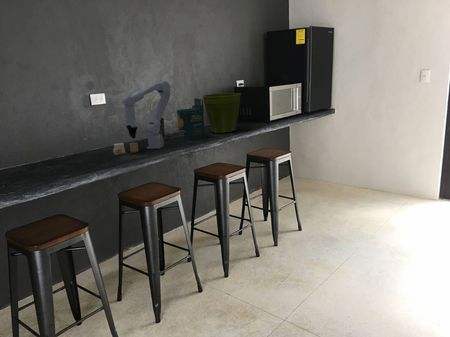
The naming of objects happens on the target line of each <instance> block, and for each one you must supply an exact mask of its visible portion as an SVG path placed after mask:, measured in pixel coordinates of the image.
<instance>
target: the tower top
mask: <svg viewBox="0 0 450 337" xmlns="http://www.w3.org/2000/svg"><path fill="white" fill-rule="evenodd" d="M113 147H114V148H113V149H115V150H121V149H125V144H124V143H123V142H120V143H113Z"/></svg>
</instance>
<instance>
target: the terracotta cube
mask: <svg viewBox="0 0 450 337" xmlns="http://www.w3.org/2000/svg"><path fill="white" fill-rule="evenodd" d="M129 150H130V153H136V152H139V145H138V142H131V143H129Z"/></svg>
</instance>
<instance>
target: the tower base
mask: <svg viewBox="0 0 450 337" xmlns="http://www.w3.org/2000/svg"><path fill="white" fill-rule="evenodd" d="M112 151H113V154H114V155H122V154H126V148H124V149H121V150H115V149H114V148H113V150H112Z"/></svg>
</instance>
